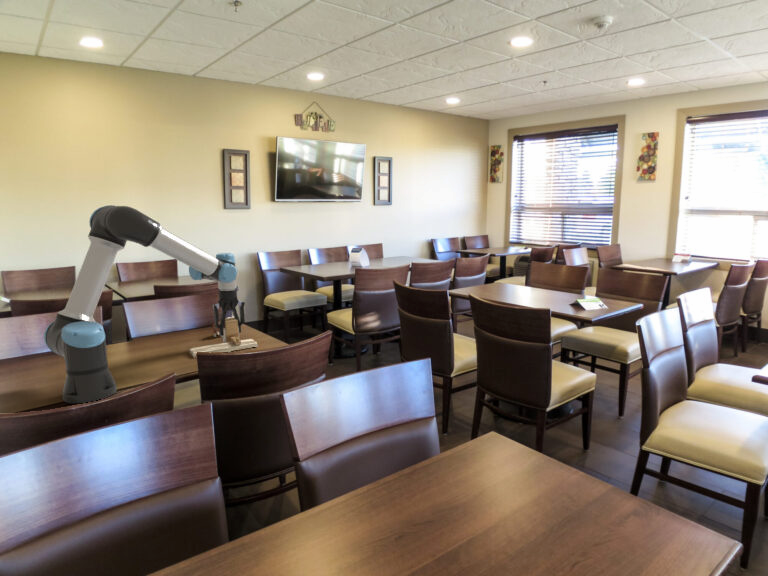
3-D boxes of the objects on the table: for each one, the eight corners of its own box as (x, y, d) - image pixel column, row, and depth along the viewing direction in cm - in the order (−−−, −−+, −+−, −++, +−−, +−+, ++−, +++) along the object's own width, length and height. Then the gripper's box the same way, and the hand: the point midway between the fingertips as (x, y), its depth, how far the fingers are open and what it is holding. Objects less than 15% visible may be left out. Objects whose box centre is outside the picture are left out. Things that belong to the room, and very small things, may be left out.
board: (257, 347, 212) (257, 342, 212) (194, 358, 198) (194, 353, 198) (251, 342, 219) (251, 338, 218) (190, 353, 205) (189, 348, 204)
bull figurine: (239, 332, 237) (238, 315, 235) (216, 339, 225) (215, 321, 224) (233, 331, 239) (232, 314, 237) (210, 337, 228) (209, 320, 226)
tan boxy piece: (244, 349, 210) (243, 324, 208) (233, 351, 207) (231, 325, 205) (235, 341, 221) (233, 317, 219) (223, 343, 218) (222, 319, 216)
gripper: (245, 285, 221) (248, 335, 225) (203, 290, 211) (207, 342, 215) (251, 288, 214) (254, 339, 219) (208, 292, 205) (212, 346, 209)
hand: (231, 341), depth 217 cm, fingers closed on tan boxy piece, 5 cm apart
